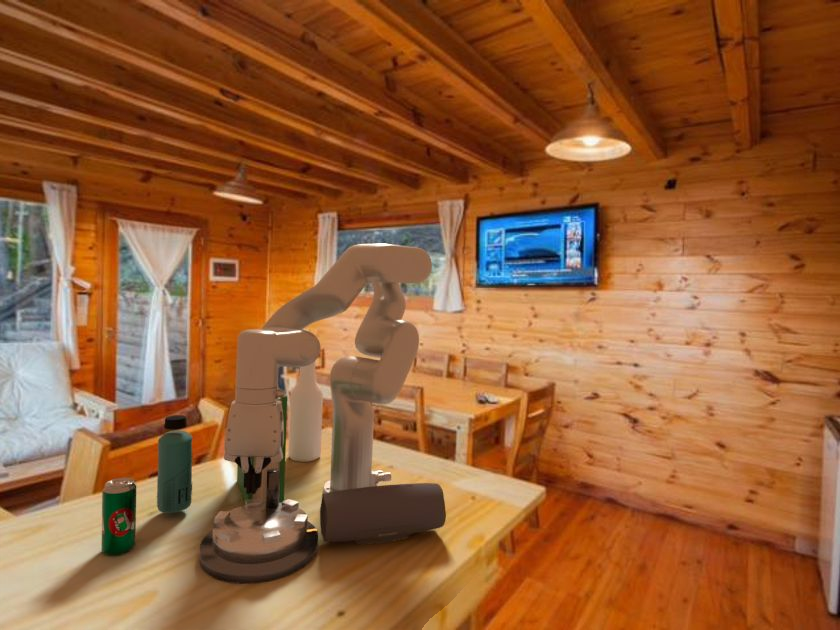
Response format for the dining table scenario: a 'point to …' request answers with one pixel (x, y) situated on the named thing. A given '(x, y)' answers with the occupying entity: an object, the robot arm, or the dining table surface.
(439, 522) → the bluetooth speaker
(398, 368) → the robot arm
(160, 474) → the beverage bottle
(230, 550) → the brown round knobbed piece
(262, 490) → the hardback book
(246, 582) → the dark brown round plate
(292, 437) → the white bottle
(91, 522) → the dining table surface
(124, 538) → the soda can
